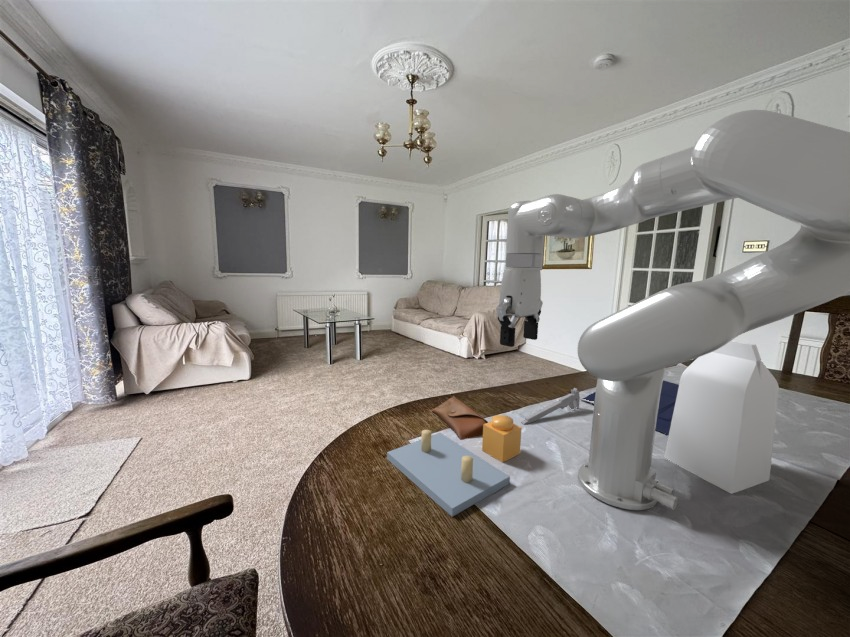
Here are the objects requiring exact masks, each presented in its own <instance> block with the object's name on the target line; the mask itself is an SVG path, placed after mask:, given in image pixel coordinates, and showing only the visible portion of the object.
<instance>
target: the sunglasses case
mask: <svg viewBox="0 0 850 637" xmlns="http://www.w3.org/2000/svg"><path fill="white" fill-rule="evenodd" d="M430 411H431V413H432V414H434V415H436V416H437V418H439V419H440V420H441V421H442V422H443V423H445V425H447V426H448V428H450V429H451V430H452V432H454V434H456V437H457V438H459V440H462V441H463V440H467V439H472V438H476V437H483V424H486V423H488V422H489V421H488V420H486V419H485V418H484V417H482V416H481V415H480V414H478V413H477V412H476V411H474V410H473V409H472V408H471V407H469V406H468V405H467V404H465V403H464V402H463V401H461V400H460V399H459V398H457V397H456V396H455V395H454V394H453V395H452V397H450V398H449V399H447V400H445V401H444V402H442V403H440V404H439V405H437V406H436V407H435V408H433V409H430Z"/></svg>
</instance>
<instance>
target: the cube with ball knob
mask: <svg viewBox="0 0 850 637" xmlns="http://www.w3.org/2000/svg"><path fill="white" fill-rule="evenodd" d="M521 439H522V427H521V426H520V425H518V424H516V423H514V419H513V418H512V417H510V416H508V415H503V414H497V415H493V416H492V418H491V420H490V421H488V423H486V424H483V435H482V442H481V443H482V444H481V447H482V448H481V451H482V452H484V453H485V454H487V455H489V456H491V457H492V458H493V459H496V460H497V461H499V462H501V463H504V462H507V461H508V460H511V459H512V458H514V457H516V456H518V455H520V454H521V441H522V440H521Z"/></svg>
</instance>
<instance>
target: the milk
mask: <svg viewBox="0 0 850 637" xmlns="http://www.w3.org/2000/svg"><path fill="white" fill-rule="evenodd" d="M758 349H759V348H758V347H757V344H754V343H751V342H743V341H738V340H734V339H733V340H731V341H730V342H728V343H727V344H726V345H724V346H723V347H721V348H719V349H717V350H715V351H713V352H711V353H708V354H706V355H703V356H700V357H698V358H695V359H694V361H692V363H690V364H689V365H688V366H687V367H686V368H685V370H684V371H683V372H682V374H681V375H680V379H679V384H678V385H679V388H678V393H677V398H676V402H675V407H674V412H673V417H672V422H671V426H670V431H669V435H667V436H668V437H667V442H666V446H665V452H664V456H663V458H664V457H665V458H667V459H668V460H667V459H666V460H667V461H669V460H670V461H669V462H671V461H672V462H673V463H672V462H671V463H672V464H674V463H675V465H676V464H677V465H676V466H678V465H679V466H678V467H680V468H682V469H684V470H685V471H688V472H689V473H691V474H693V475H694V476H697V477H699V478H701V479H703V480H705V481H707V482H708V483H710V484H712V485H713V486H715V487H718V488H719V489H721V490H722V491H723V490H724V491H725V492H726V493H729V494H731V495H733V494H734V493H739V492H741V491H744V490H747V489H749V488H752V487H754V486H757V485H760V484H763V483H765V482H768V481H770V477H771V476H770V475H771V467H772V459H773V449H774V439H775V430H776V419H777V412H778V401H779V392H780V387H779V383H778V381H777V379H776V378H775V376H774V375H773V373H772V372H771V371H770V370H769V369H768V367H767V366H766V365H765V364H764V362H763V361H762V358H761V355H760V353H759V350H758ZM665 458H664V459H665Z"/></svg>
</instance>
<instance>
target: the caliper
mask: <svg viewBox="0 0 850 637" xmlns="http://www.w3.org/2000/svg"><path fill="white" fill-rule="evenodd" d="M570 392H571V393H568V394H565V395H564V396H562V397H561V398H560V397H559V399H558V400H557V401H555V402H553V403H552V404H549V405H548V406H546V407H543V408H541V409H540V410H538V411H535V412H534V413H532V414H530V415H528V416H526V417H525V418H524V420H522V421H521V424H523V425H527V424H531V423H530V422H532V423H534V422H536V421H538V420H540V419H542V418H543V417H545V416H547V415H549V414H552V412H555V411H557V410H558V409H561V410H564V409H565V408H568V407H569V409H570V408H571V409H574V410H575V407H577V408H578V409H579V408H580V400H581V397H580V391H579V390H578V388H576V387H573V389H571V388H570ZM571 409H570V410H571Z"/></svg>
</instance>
